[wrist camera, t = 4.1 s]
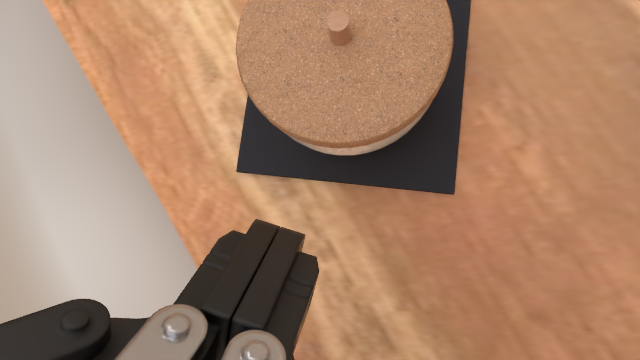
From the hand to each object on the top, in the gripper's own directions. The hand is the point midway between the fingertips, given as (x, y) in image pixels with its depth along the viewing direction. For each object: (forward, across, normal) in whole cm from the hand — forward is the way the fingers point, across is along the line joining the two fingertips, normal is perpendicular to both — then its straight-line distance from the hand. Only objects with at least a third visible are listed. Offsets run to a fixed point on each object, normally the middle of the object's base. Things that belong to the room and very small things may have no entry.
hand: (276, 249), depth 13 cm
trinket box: (+19, +1, +2) cm, 19 cm away
